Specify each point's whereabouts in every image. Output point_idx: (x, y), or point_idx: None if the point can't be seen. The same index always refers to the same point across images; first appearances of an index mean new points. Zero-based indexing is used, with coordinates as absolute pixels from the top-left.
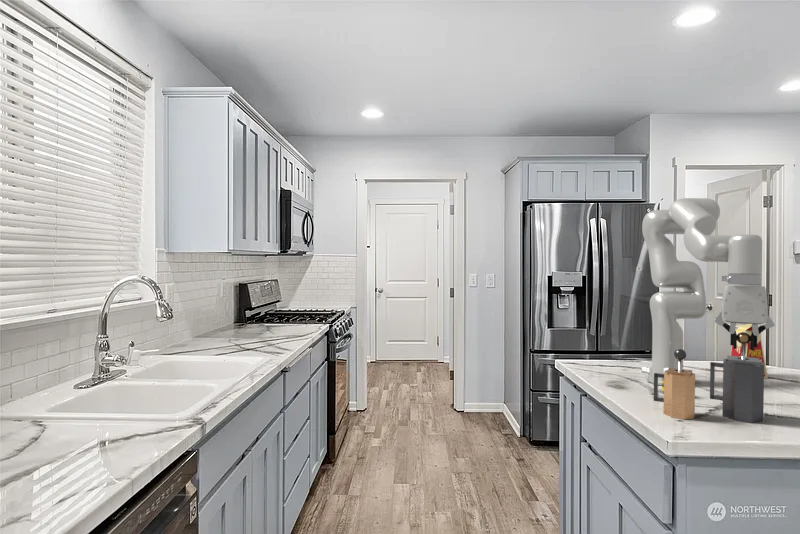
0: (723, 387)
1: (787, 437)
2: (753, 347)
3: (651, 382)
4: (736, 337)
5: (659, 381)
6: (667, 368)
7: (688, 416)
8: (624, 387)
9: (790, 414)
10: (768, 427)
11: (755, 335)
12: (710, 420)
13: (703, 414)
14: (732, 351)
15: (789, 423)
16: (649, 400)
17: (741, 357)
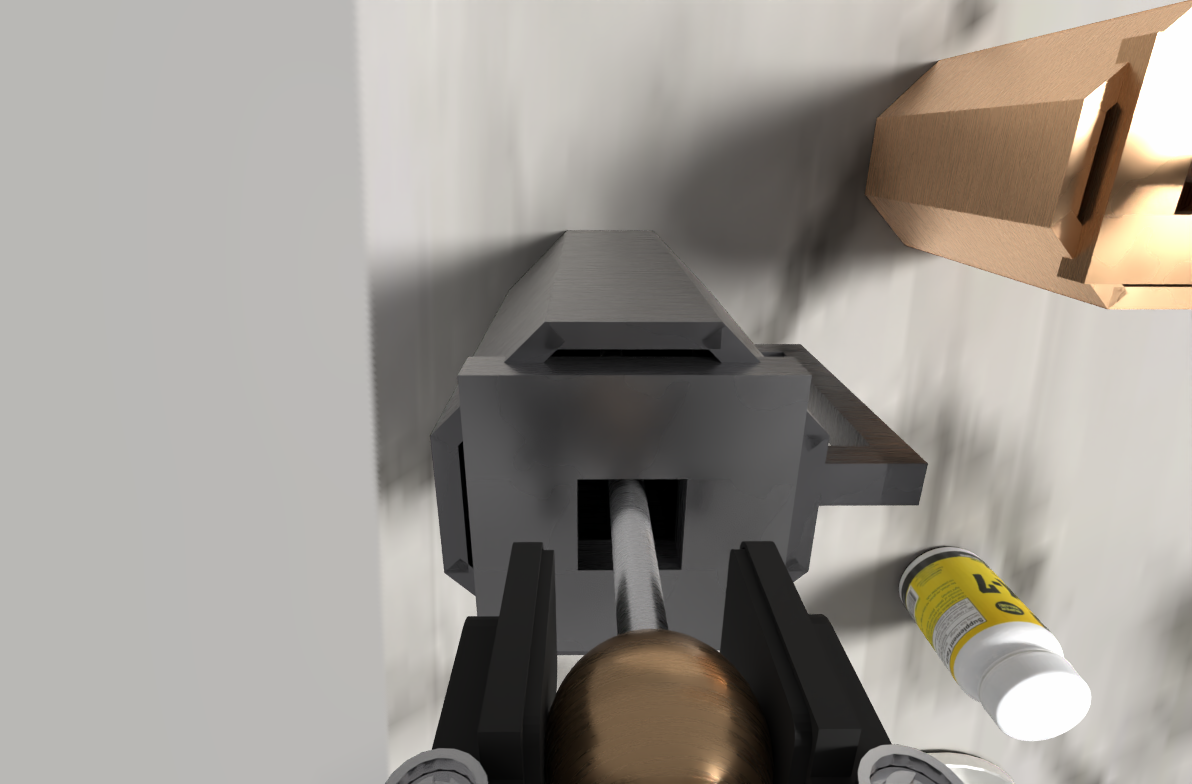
0: (748, 338)
1: (386, 6)
2: (515, 564)
3: (1006, 773)
4: (786, 679)
5: (976, 778)
6: (1065, 713)
7: (920, 83)
8: (1168, 627)
9: (391, 536)
10: (483, 187)
11: (452, 754)
12: (782, 145)
13: (808, 270)
14: None
15: (388, 350)
16: (1077, 418)
17: (650, 527)
